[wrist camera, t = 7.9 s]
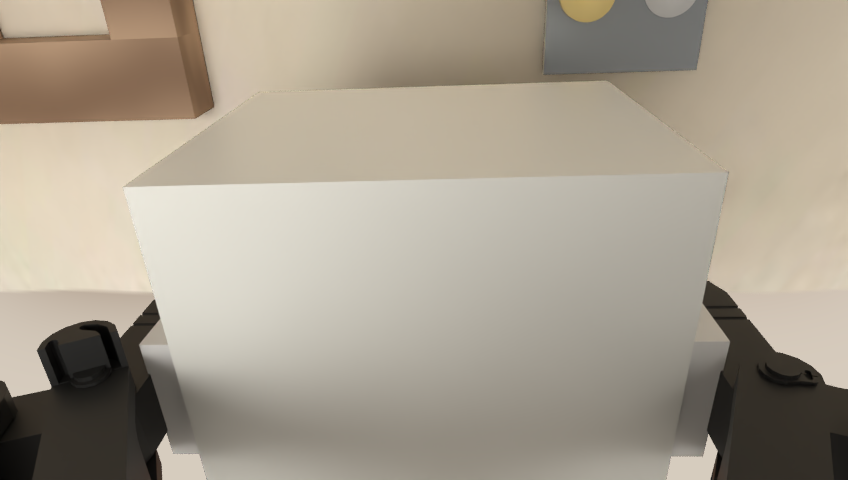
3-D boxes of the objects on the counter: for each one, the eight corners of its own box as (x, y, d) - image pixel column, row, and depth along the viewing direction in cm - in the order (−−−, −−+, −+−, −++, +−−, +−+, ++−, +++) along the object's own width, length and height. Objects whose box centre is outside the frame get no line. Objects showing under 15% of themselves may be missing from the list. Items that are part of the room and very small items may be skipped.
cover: (259, 91, 15) (122, 186, 9) (607, 80, 15) (729, 172, 8) (303, 367, 19) (232, 569, 13) (579, 365, 18) (646, 573, 12)
